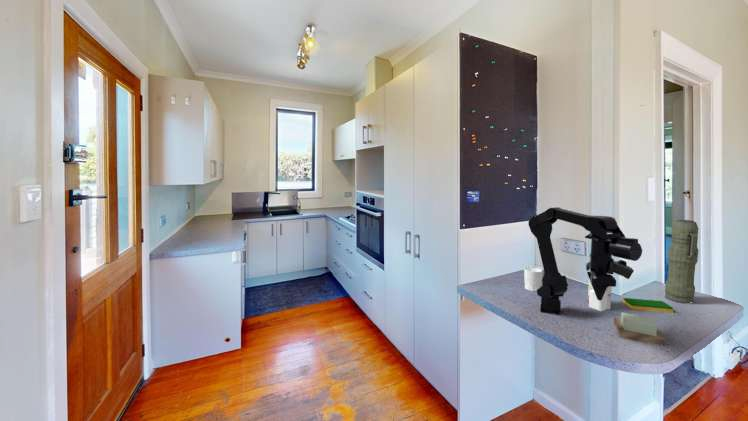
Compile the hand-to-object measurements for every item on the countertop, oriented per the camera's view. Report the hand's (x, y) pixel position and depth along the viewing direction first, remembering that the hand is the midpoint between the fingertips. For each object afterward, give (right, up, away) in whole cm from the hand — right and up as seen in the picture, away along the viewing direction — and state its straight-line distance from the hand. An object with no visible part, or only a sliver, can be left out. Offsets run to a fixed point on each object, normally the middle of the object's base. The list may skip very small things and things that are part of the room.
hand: (598, 297), depth 101 cm
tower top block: (+13, -11, 0) cm, 17 cm away
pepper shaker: (0, -4, 0) cm, 4 cm away
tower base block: (+14, -13, 0) cm, 19 cm away
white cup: (0, -9, +42) cm, 43 cm away
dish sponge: (+36, -11, +20) cm, 43 cm away
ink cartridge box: (+18, -11, +23) cm, 31 cm away
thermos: (+56, -9, +27) cm, 63 cm away
